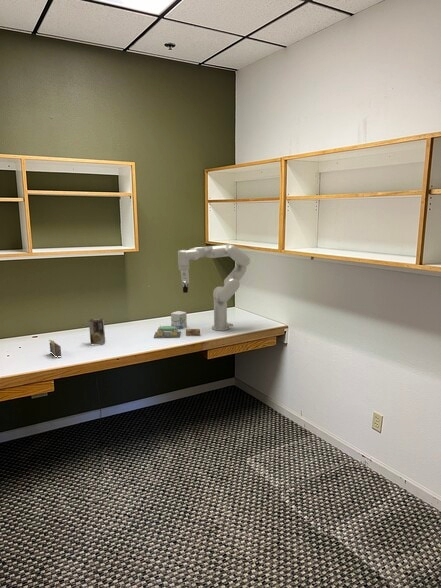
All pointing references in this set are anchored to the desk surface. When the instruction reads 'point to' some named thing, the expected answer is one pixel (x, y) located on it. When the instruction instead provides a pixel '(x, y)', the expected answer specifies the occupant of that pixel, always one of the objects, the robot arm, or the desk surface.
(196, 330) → the block
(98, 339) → the coffee box
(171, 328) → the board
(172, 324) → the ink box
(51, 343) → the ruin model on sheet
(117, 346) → the desk surface
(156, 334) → the chassis
